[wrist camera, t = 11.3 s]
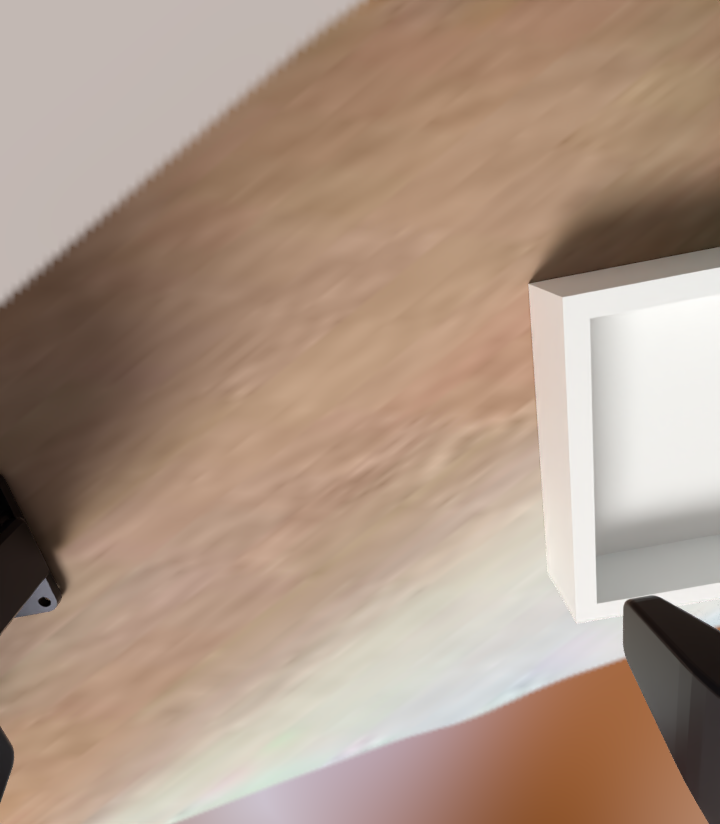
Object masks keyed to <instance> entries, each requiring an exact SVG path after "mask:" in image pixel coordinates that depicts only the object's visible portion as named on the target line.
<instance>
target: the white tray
mask: <svg viewBox="0 0 720 824" xmlns="http://www.w3.org/2000/svg"><path fill="white" fill-rule="evenodd" d="M528 285H529V300H530V315H531V331H532V346H533V361H534V376H535V391H536V406H537V422H538V437H539V452H540V467H541V482H542V497H543V513H544V528H545V543H546V558H547V573H548V575H549V577H550V578H551V580H552V582H553V584H554V585H555V587H556V589H557V591H558V592H559V594H560V596H561V598H562V599H563V601H564V603H565V605H566V606H567V608H568V610H569V612H570V613H571V615H572V617H573V619H574V620H575V622H576V624H578V623H584V622H590V621H596V620H601V619H607V618H613V617H619V616H623V606H624V603H625V601H626V600H628V599H632V598H637V597H643V596H649V595H655V596H658V597H661V598H663V599H665V600H666V601H668V602H670V603H672V604H673V605H675V606H682V605H688V604H694V603H700V602H706V601H711V600H717V599H720V247H716V248H711V249H706V250H701V251H696V252H690V253H685V254H680V255H675V256H670V257H664V258H659V259H654V260H649V261H644V262H638V263H633V264H628V265H623V266H618V267H613V268H607V269H602V270H597V271H592V272H587V273H581V274H576V275H571V276H566V277H561V278H555V279H550V280H545V281H540V282H535V283H529V284H528Z"/></svg>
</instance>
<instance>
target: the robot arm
mask: <svg viewBox="0 0 720 824" xmlns="http://www.w3.org/2000/svg"><path fill="white" fill-rule="evenodd" d="M44 597H46V598H48V599H49V600H47V599H45V598H44ZM61 599H62V595H61V592H60V590H59V588H58V586H57V584H56V582H55V580H54V578H53V576H52V574H51V572H50V570H49V568H48V566H47V564H46V562H45V560H44V558H43V556H42V554H41V551H40V549H39V547H38V545H37V543H36V541H35V539H34V537H33V535H32V533H31V531H30V529H29V527H28V525H27V523H26V521H25V519H24V517H23V515H22V513H21V511H20V509H19V507H18V505H17V503H16V501H15V499H14V497H13V495H12V493H11V490H10V488H9V486H8V484H7V482H6V480H5V479H4V477H3V476H2V475H1V474H0V635H1V634H2V633H3V631H4V630H5V629H6V627H7V626H8V625H9V624H10V622H11V621H12V620H13V619H14V618H16V617H21V616H27V615H33V614H38V613H44V612H49V611H52V610H54V609H55V608H56V607H57V605H58V604H59V603H60V601H61ZM623 647H624V652H625V656H626V659H627V662H628V664H629V666H630V668H631V670H632V672H633V674H634V676H635V679H636V681H637V682H638V685H639V687H640V689H641V691H642V693H643V696H644V698H645V700H646V702H647V704H648V706H649V708H650V710H651V712H652V714H653V717H654V719H655V721H656V723H657V725H658V727H659V729H660V731H661V734H662V735H663V738H664V740H665V742H666V744H667V746H668V748H669V750H670V753H671V754H672V757H673V759H674V761H675V763H676V765H677V767H678V769H679V771H680V773H681V775H682V777H683V779H684V781H685V783H686V785H687V786H688V788H689V790H690V792H691V794H692V795H693V797H694V799H695V801H696V802H697V804H698V806H699V807H700V809H701V811H702V812H703V814H704V816H705V818H706V819H707V821H708V823H709V824H720V631H719V630H717V629H716V628H714V627H712V626H710V625H709V624H707V623H705V622H703V621H702V620H700V619H698V618H696V617H695V616H693V615H691V614H689V613H688V612H686V611H684V610H682V609H680V608H679V607H677V606H675V605H673V604H672V603H670V602H668V601H666V600H665V599H663V598H661V597H658V596H655V595H649V596H643V597H637V598H632V599H628V600H626V601H625V603H624V606H623ZM13 762H14V750H13V747H12V744H11V743H10V741H9V740H8V738H7V736H6V735H5V733H4V731H3V730H2V728H1V727H0V802H1V799H2V796H3V794H4V791H5V788H6V785H7V782H8V779H9V776H10V773H11V770H12V767H13Z"/></svg>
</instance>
